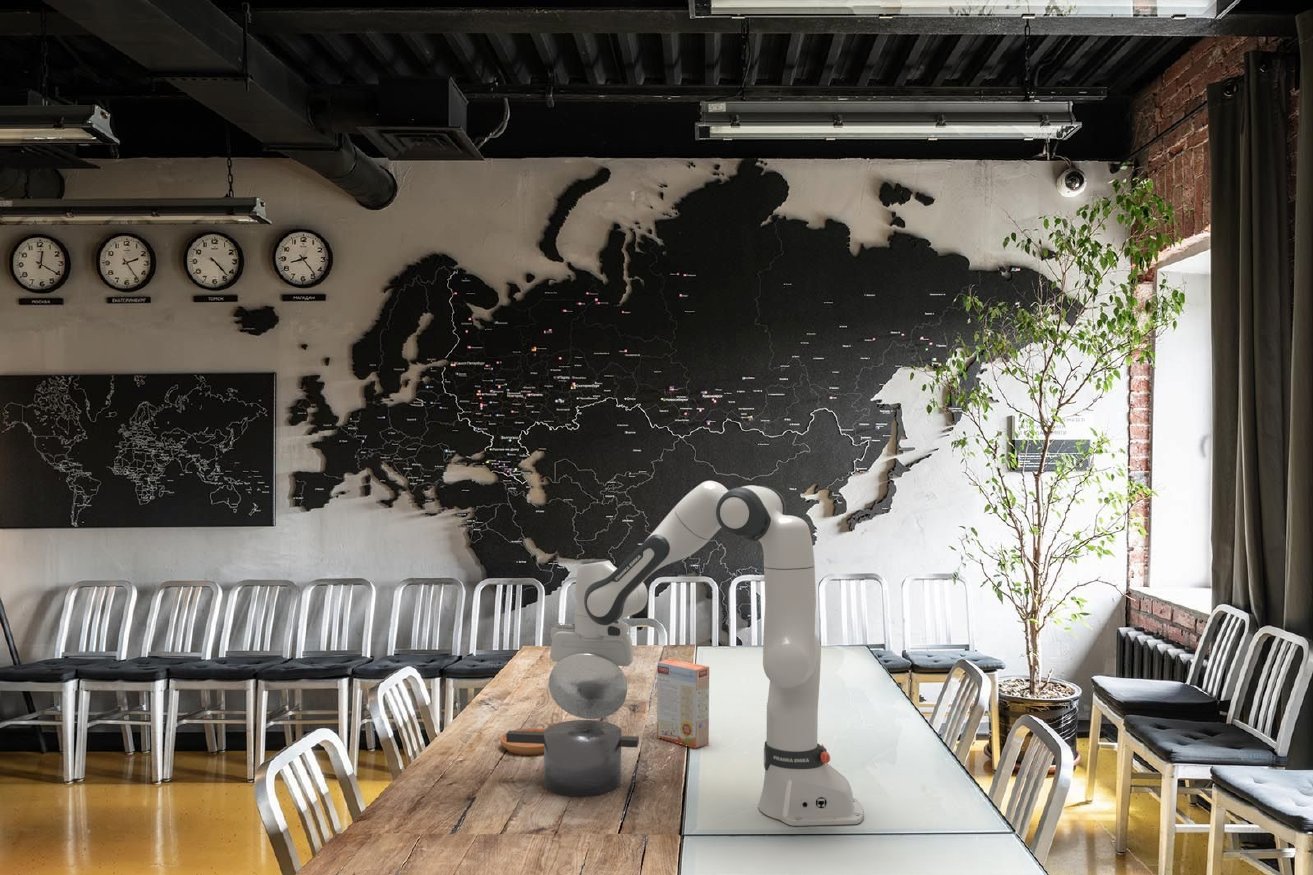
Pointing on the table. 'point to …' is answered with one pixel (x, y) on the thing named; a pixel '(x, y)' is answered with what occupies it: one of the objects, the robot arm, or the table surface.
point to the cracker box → (683, 703)
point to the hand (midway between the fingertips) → (590, 681)
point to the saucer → (523, 744)
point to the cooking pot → (579, 756)
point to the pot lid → (588, 685)
